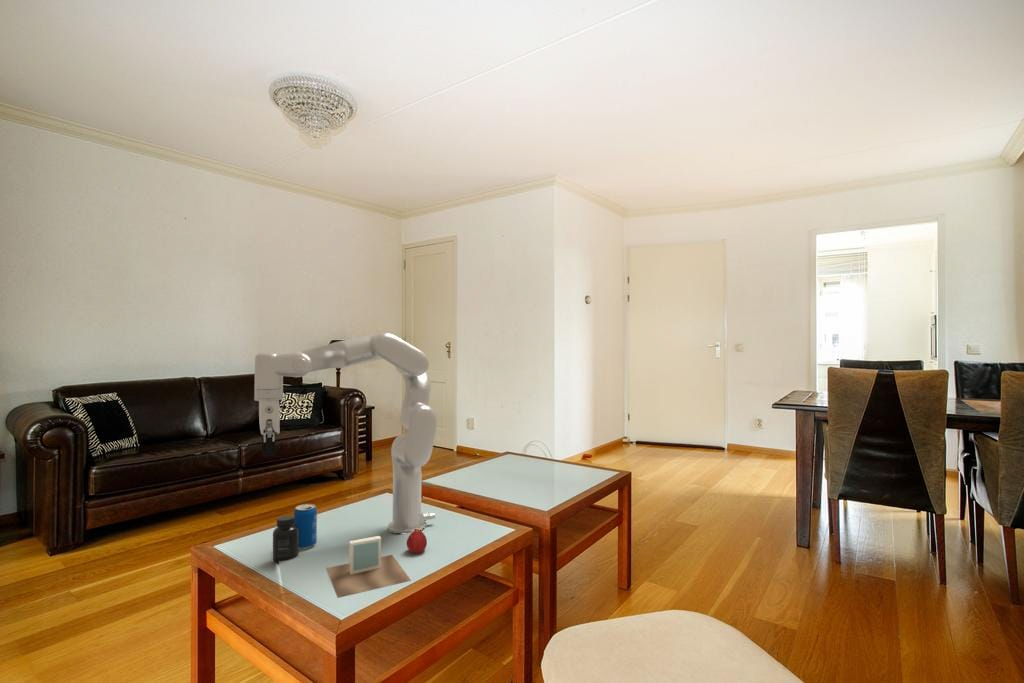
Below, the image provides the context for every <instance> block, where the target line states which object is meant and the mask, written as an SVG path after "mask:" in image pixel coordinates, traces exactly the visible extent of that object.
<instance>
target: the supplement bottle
mask: <svg viewBox="0 0 1024 683" xmlns="http://www.w3.org/2000/svg"><path fill="white" fill-rule="evenodd" d="M294 524H295V516H294V515H282V516H280V517H277V519H276V527H275V528H274V529H273V532H272V562H273V563H274V564H276V565H280V562H283V561H285V562H286V561H290V560H293V559H295V558H297V557H299V555H300V552H299V551H300V549H299V528H298V527H297V526H296V525H294Z"/></svg>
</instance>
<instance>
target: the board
mask: <svg viewBox="0 0 1024 683" xmlns="http://www.w3.org/2000/svg"><path fill="white" fill-rule="evenodd" d="M325 569H326V571H327V573H328V574H327V575H328V577H329V579H330V581H331V584H332V587H333V589H334V592H335V594H336V597H337V599H339V598H343V597H348V596H352V595H356V594H361V593H366V592H370V591H372V590H373V591H374V590H377V589H382V588H386V587H391V586H394V585H398V584H404V583H407V582H411V581H412V580H411V578H410V577H409V576H408V574H407V573H406V571H405V570H404V568H403V567H402V566H401V564H400V563H399V561H398V560H397V559H396V558H395V556H394V555H393V554H388V555H384V556H381V568H378V569H373V570H369V571H364V572H359V573H355V574H350V572H349V563H344V564H341V565H334V566H331V567H330V566H329V567H326V568H325Z"/></svg>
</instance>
